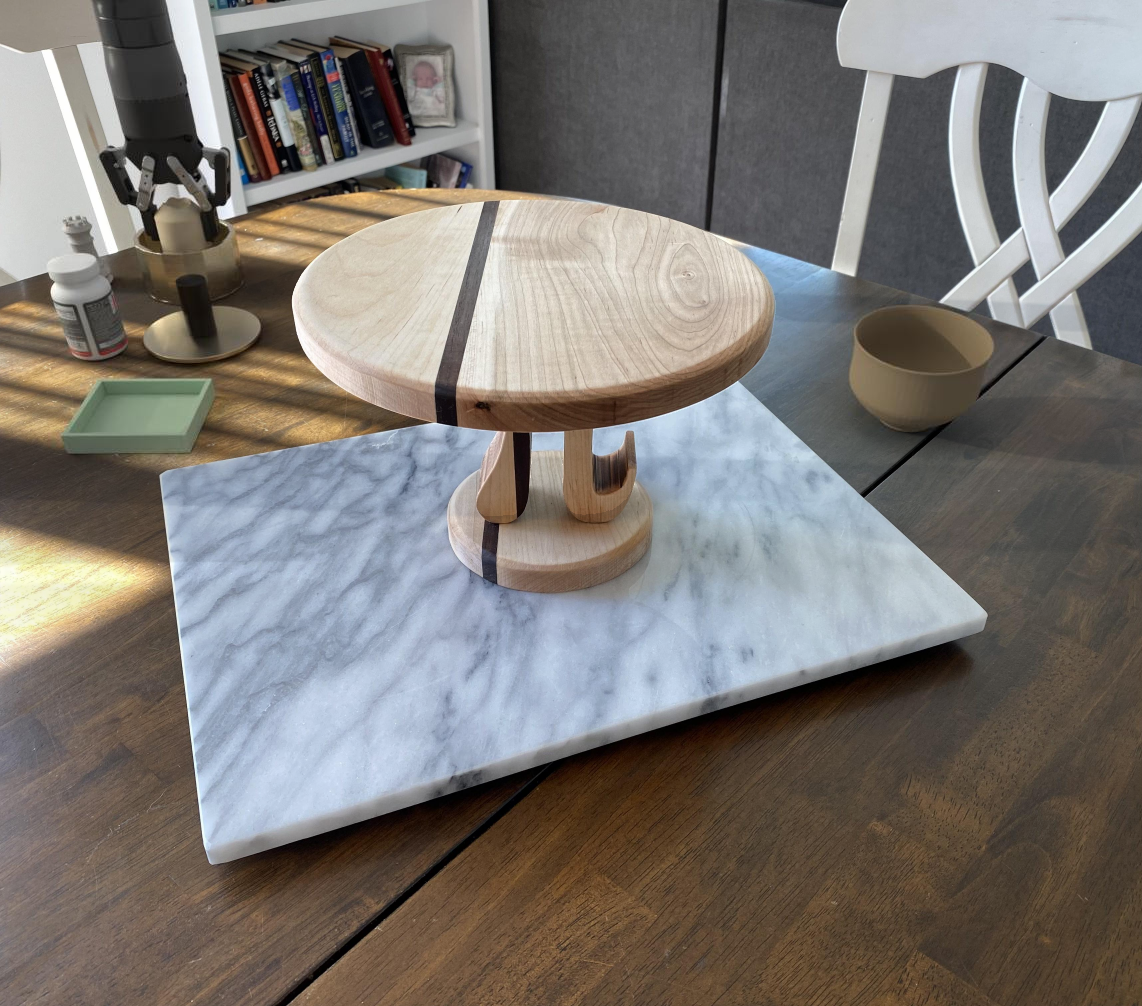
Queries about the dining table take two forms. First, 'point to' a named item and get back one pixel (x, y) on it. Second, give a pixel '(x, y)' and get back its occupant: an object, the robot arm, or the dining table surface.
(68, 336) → the pill bottle
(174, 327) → the lid
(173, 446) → the tray
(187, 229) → the candle
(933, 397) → the bowl
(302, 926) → the dining table surface
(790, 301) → the dining table surface
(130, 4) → the robot arm
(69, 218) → the rook chess piece
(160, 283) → the pot
